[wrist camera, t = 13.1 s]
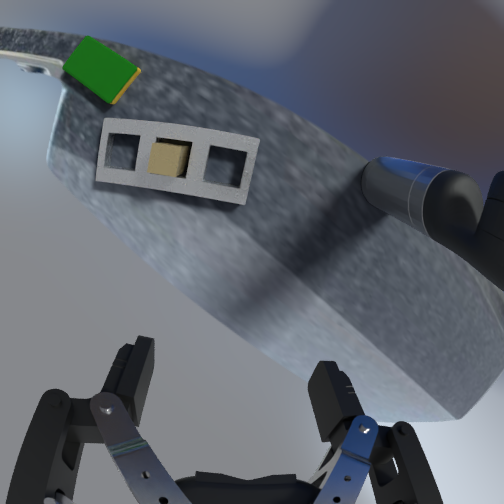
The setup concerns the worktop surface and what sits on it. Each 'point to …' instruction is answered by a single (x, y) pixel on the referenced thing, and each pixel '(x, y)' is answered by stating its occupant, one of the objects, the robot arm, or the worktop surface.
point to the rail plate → (197, 161)
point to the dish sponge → (101, 69)
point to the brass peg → (168, 159)
